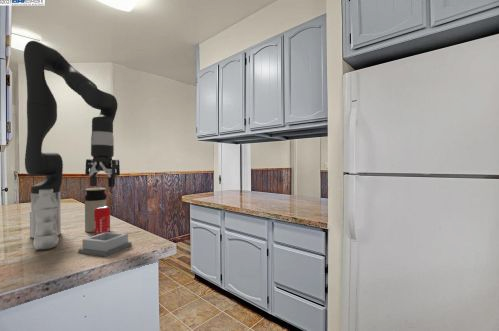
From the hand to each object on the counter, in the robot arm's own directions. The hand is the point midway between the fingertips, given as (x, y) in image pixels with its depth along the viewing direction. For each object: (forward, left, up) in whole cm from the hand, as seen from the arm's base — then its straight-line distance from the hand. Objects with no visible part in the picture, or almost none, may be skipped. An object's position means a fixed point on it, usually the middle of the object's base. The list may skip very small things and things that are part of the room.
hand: (102, 186), depth 97 cm
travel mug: (-13, +9, -20) cm, 26 cm away
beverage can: (0, 0, -20) cm, 20 cm away
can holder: (+11, -9, -20) cm, 24 cm away
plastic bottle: (-9, -15, -20) cm, 26 cm away
